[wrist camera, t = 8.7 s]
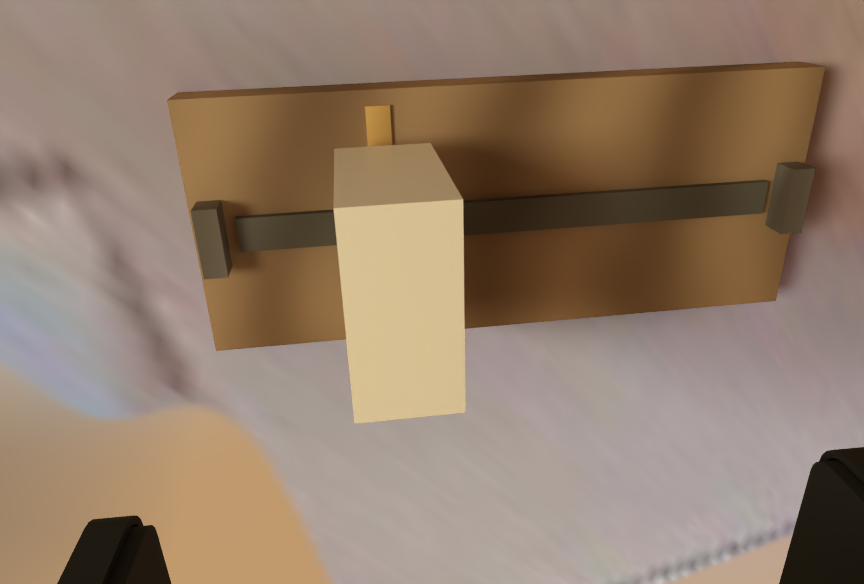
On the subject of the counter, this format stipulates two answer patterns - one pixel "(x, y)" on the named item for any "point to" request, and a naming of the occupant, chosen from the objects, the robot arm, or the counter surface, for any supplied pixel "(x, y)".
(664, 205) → the fader board
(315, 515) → the counter surface
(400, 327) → the fader cap
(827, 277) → the counter surface
